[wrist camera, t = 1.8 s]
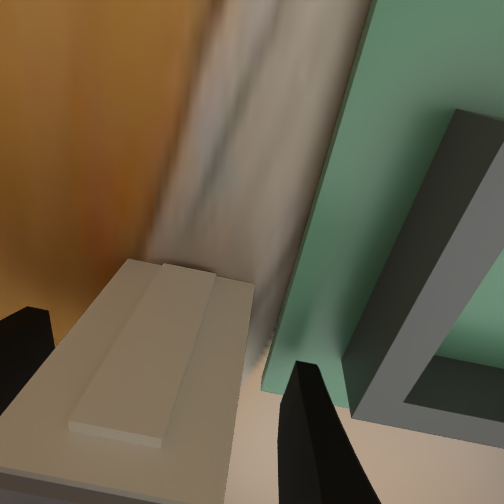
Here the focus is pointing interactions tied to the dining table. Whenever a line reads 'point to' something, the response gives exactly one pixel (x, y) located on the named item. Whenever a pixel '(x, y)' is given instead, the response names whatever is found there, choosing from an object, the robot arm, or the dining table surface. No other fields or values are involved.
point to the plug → (134, 396)
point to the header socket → (409, 230)
